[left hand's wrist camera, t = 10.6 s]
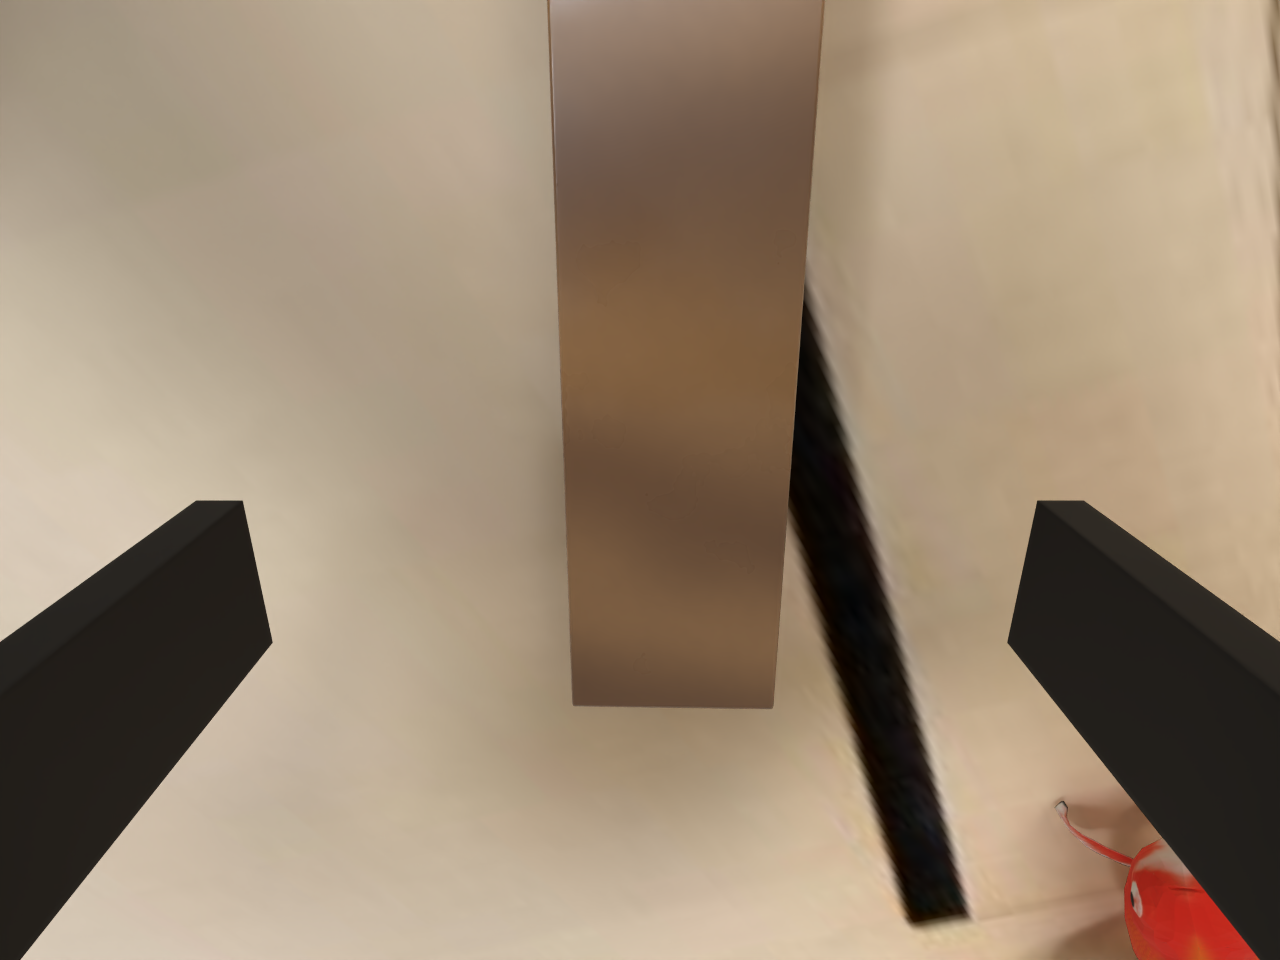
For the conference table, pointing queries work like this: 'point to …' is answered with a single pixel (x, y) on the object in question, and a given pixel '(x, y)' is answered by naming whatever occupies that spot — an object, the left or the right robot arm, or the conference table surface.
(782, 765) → the conference table surface
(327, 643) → the conference table surface
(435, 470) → the conference table surface
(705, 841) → the conference table surface
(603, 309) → the post
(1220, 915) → the fish
